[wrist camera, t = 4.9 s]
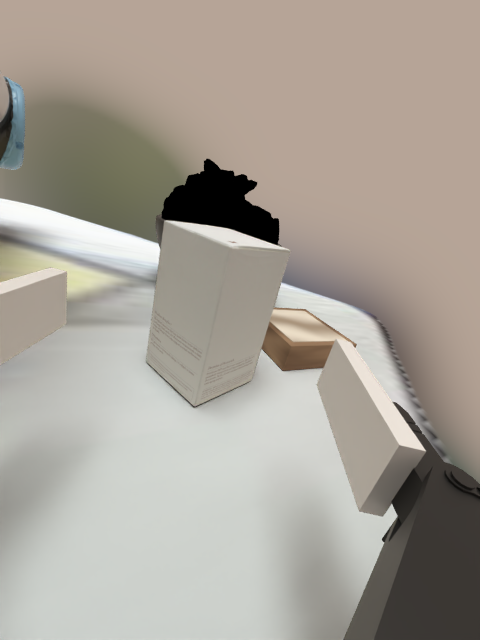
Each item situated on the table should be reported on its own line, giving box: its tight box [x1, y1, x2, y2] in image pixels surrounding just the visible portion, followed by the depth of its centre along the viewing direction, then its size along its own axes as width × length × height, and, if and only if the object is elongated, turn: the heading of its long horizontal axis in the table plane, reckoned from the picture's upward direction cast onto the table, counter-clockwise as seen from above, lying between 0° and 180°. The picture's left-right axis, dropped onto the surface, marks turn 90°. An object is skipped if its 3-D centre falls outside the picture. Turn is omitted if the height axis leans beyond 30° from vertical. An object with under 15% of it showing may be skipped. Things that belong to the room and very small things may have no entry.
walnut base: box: [262, 308, 357, 371], centre depth 36 cm, size 10×10×3 cm
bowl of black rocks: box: [156, 159, 282, 249], centre depth 45 cm, size 20×20×19 cm
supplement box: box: [146, 220, 291, 406], centre depth 24 cm, size 7×7×13 cm
